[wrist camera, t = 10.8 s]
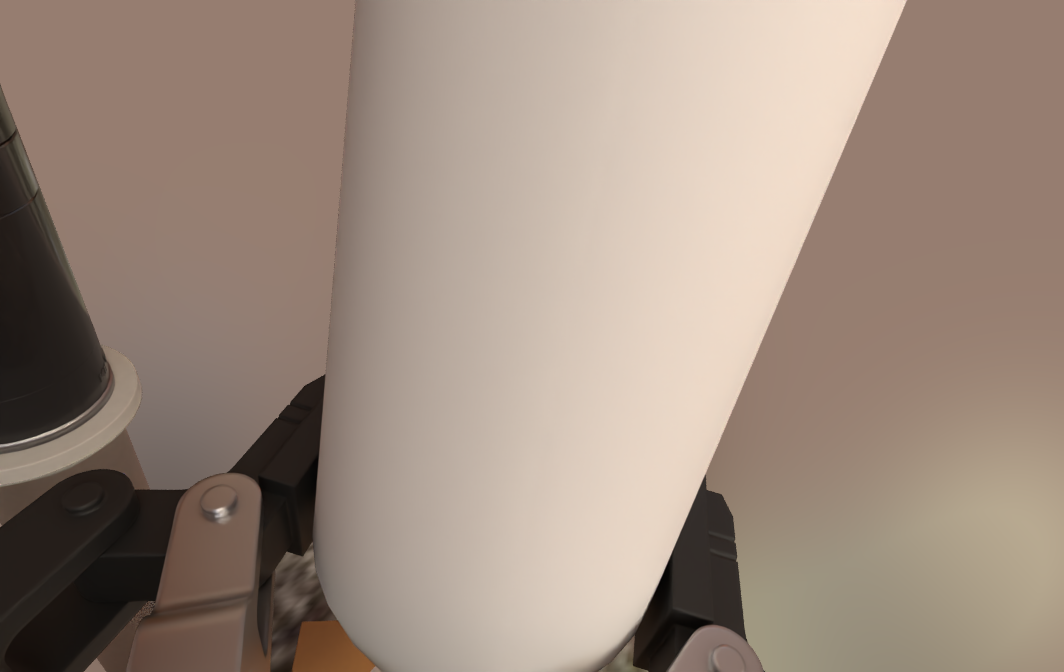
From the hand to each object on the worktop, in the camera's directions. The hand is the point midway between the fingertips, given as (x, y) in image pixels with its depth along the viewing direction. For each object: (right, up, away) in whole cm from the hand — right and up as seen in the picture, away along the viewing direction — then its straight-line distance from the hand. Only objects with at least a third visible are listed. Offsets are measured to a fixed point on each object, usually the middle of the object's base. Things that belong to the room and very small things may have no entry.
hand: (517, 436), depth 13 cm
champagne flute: (-3, -12, +6) cm, 13 cm away
